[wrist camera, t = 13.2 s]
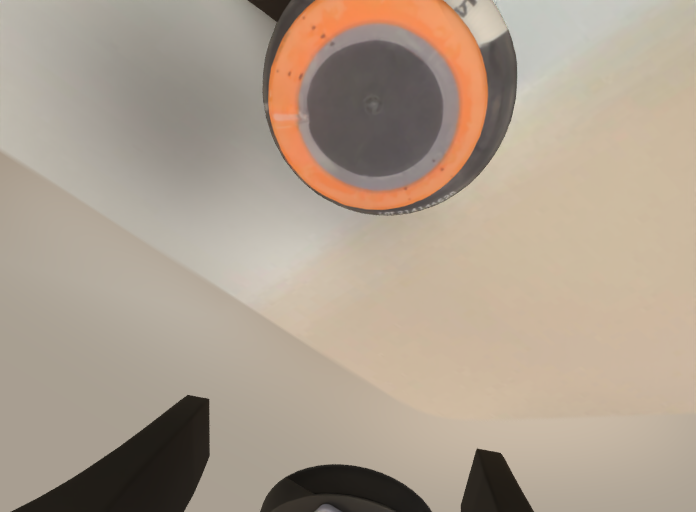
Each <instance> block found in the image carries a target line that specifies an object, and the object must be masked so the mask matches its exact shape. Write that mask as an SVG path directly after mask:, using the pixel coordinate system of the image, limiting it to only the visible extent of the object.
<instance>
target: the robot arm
mask: <svg viewBox="0 0 696 512" xmlns="http://www.w3.org/2000/svg"><path fill="white" fill-rule="evenodd" d="M209 455H210V453H209V399H207V398H201V397H196V396H190V395H187V396H186V397H184V398H183V399H182V400H180V401H179V402H178V403H176V404H175V405H174V406H172V407H171V408H170V409H169V410H167V411H166V412H165V413H163V414H162V415H161V416H160V417H158V418H157V419H156V420H154V421H153V422H152V423H151V424H149V425H148V426H147V427H145V428H144V429H143V430H141V431H140V432H139V433H137V434H136V435H135V436H133V437H132V438H131V439H129V440H128V441H127V442H125V443H124V444H123V445H121V446H120V447H118V448H117V449H115V450H114V451H113V452H111V453H110V454H108V455H107V456H105V457H104V458H102V459H101V460H99V461H98V462H96V463H95V464H93V465H92V466H90V467H89V468H87V469H86V470H84V471H83V472H81V473H80V474H78V475H76V476H75V477H73V478H72V479H70V480H68V481H67V482H65V483H63V484H62V485H60V486H58V487H56V488H55V489H53V490H51V491H50V492H48V493H46V494H44V495H42V496H41V497H39V498H37V499H35V500H33V501H31V502H29V503H27V504H25V505H24V506H21V507H19V508H18V509H16V510H13V511H12V512H184V510H185V509H186V507H187V505H188V503H189V501H190V500H191V498H192V496H193V494H194V492H195V490H196V487H197V485H198V483H199V480H200V478H201V476H202V473H203V471H204V468H205V466H206V463H207V461H208V458H209ZM315 512H342V511H340V510H338V509H337V508H335V507H334V506H332V505H330V504H323V505H321V506H320V507H319V508H318V509H317V510H316V511H315ZM461 512H534V511H533V509H532V508H531V506H530V504H529V502H528V501H527V499H526V497H525V495H524V494H523V492H522V490H521V488H520V487H519V485H518V483H517V481H516V479H515V477H514V476H513V474H512V472H511V470H510V468H509V466H508V464H507V462H506V461H505V459H504V457H503V456H502V454H501V453H498V452H493V451H487V450H482V449H477V450H476V453H475V457H474V460H473V464H472V467H471V471H470V474H469V478H468V482H467V485H466V489H465V492H464V496H463V500H462V503H461Z"/></svg>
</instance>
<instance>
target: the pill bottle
mask: <svg viewBox="0 0 696 512" xmlns="http://www.w3.org/2000/svg"><path fill="white" fill-rule="evenodd" d="M516 88H517V62H516V54H515V50H514V47H513V42H512V39H511V36H510V33H509V30H508V28H507V26H506V24H505V22H504V20H503V18H502V16H501V14H500V12H499V10H498V8H497V7H496V5H495V4H494V2H493V1H492V0H291V1H290V3H289V4H288V6H287V7H286V8H285V10H284V11H283V13H282V15H281V17H280V19H279V21H278V22H277V24H276V27H275V29H274V32H273V34H272V37H271V40H270V42H269V46H268V49H267V53H266V57H265V64H264V72H263V102H264V107H265V113H266V118H267V121H268V125H269V128H270V131H271V134H272V136H273V139H274V141H275V144H276V145H277V147H278V149H279V151H280V153H281V155H282V156H283V158H284V160H285V161H286V162H287V164H288V165H289V166H290V168H291V169H292V170H293V172H294V173H295V174H296V175H297V176H298V177H299V178H300V179H301V180H302V181H303V182H304V183H305V184H306V185H307V186H308V187H309V188H311V189H312V190H313V191H314V192H316V193H317V194H318V195H320V196H322V197H323V198H325V199H327V200H329V201H331V202H333V203H335V204H337V205H338V206H341V207H344V208H346V209H349V210H352V211H356V212H360V213H365V214H373V215H387V216H388V215H401V214H407V213H412V212H416V211H420V210H423V209H426V208H429V207H432V206H435V205H437V204H439V203H441V202H443V201H445V200H447V199H448V198H450V197H452V196H453V195H455V194H456V193H458V192H459V191H461V190H462V189H463V188H465V187H466V186H467V185H469V184H470V183H471V182H472V181H473V180H474V179H475V178H476V177H477V176H478V175H479V174H480V173H481V172H482V170H483V169H484V168H485V167H486V165H487V164H488V163H489V161H490V160H491V159H492V157H493V156H494V154H495V153H496V151H497V150H498V148H499V146H500V144H501V142H502V140H503V138H504V136H505V134H506V132H507V129H508V126H509V124H510V122H511V118H512V114H513V109H514V104H515V99H516Z"/></svg>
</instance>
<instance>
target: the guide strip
mask: <svg viewBox="0 0 696 512" xmlns="http://www.w3.org/2000/svg"><path fill="white" fill-rule="evenodd" d="M248 1H249V2H251V3H252V4H254V5H255V6H256V7H258V8H259V9H260V10H262V11H263V12H264V13H266V14H267V15H269V16H270V17H271V18H273V19H274V20H275V21H277V22H278V21H279V19H280V17H281V15H282V13H283V11H284V10H285V8H286V7H287V6H288V4H289V3H290V1H291V0H248Z"/></svg>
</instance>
